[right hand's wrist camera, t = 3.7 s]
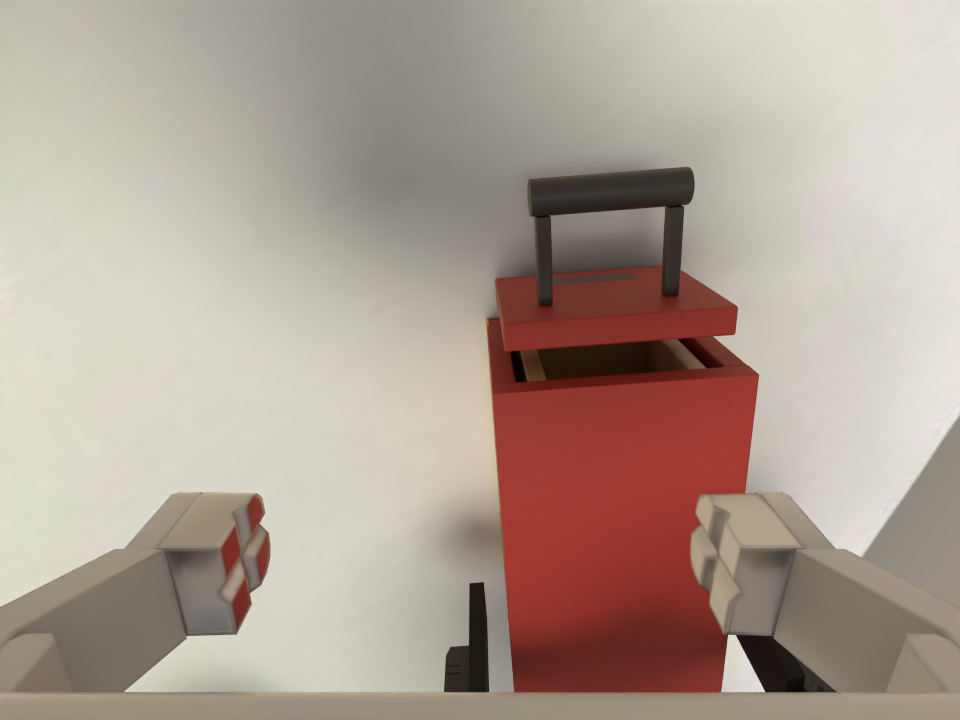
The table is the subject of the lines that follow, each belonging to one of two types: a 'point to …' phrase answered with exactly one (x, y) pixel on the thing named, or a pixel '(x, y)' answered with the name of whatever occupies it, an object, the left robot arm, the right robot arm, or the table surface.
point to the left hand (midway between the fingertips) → (603, 593)
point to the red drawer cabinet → (615, 518)
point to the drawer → (609, 289)
